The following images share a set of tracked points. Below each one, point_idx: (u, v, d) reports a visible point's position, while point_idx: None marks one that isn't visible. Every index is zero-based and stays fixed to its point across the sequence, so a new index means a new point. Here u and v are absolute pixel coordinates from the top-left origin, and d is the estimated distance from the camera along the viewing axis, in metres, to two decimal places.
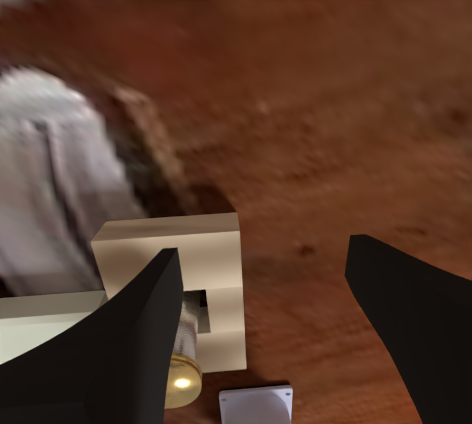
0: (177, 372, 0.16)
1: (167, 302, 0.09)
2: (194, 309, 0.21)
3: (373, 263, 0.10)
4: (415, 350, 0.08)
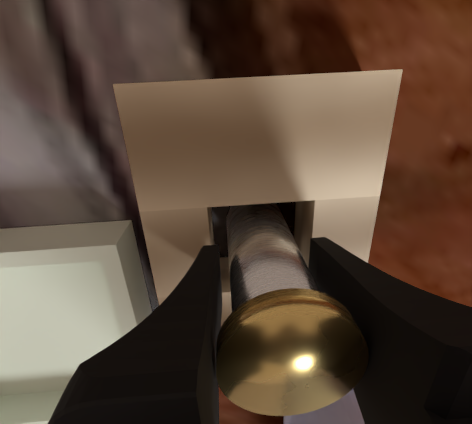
0: (325, 332, 0.07)
1: (216, 299, 0.10)
2: None
3: (327, 266, 0.10)
4: None
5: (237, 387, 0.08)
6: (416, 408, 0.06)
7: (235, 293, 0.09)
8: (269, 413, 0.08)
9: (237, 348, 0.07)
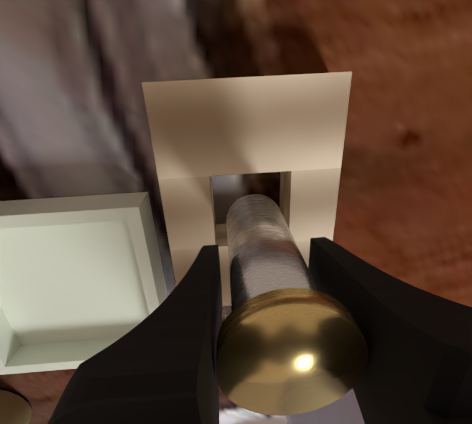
0: (325, 331, 0.07)
1: (216, 298, 0.10)
2: (292, 237, 0.12)
3: (327, 266, 0.10)
4: None
5: (237, 387, 0.08)
6: (416, 408, 0.06)
7: (235, 293, 0.09)
8: (269, 413, 0.08)
9: (237, 348, 0.07)
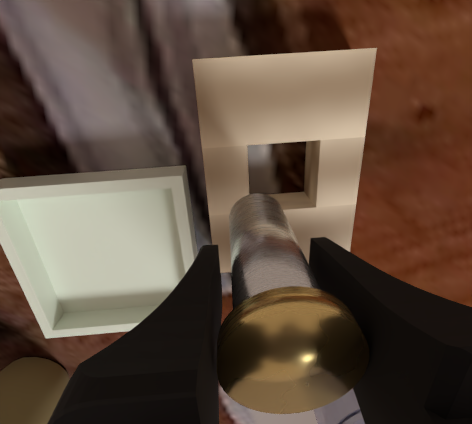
0: (326, 330, 0.07)
1: (216, 298, 0.10)
2: None
3: (327, 266, 0.10)
4: None
5: (237, 384, 0.08)
6: (416, 408, 0.06)
7: (236, 291, 0.09)
8: (269, 411, 0.08)
9: (237, 345, 0.07)
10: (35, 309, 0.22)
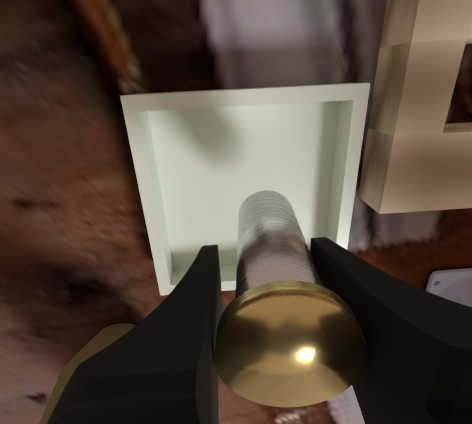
0: (324, 326, 0.07)
1: (216, 298, 0.10)
2: (302, 234, 0.12)
3: (328, 266, 0.10)
4: None
5: (234, 373, 0.08)
6: (417, 408, 0.06)
7: (239, 283, 0.09)
8: (264, 403, 0.08)
9: (236, 334, 0.07)
10: (156, 258, 0.19)
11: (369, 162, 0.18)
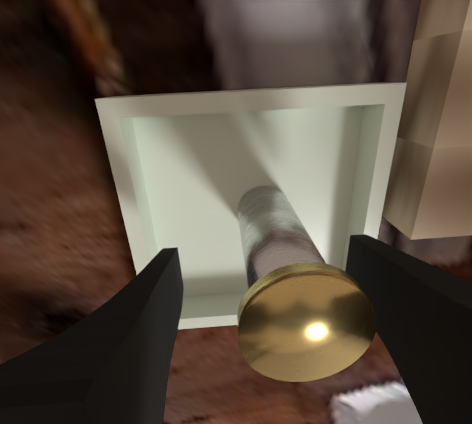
0: (339, 301, 0.08)
1: (167, 302, 0.09)
2: None
3: (373, 263, 0.10)
4: (415, 350, 0.08)
5: (256, 352, 0.08)
6: None
7: (252, 270, 0.10)
8: (283, 379, 0.09)
9: (260, 313, 0.08)
10: None
11: (397, 176, 0.15)
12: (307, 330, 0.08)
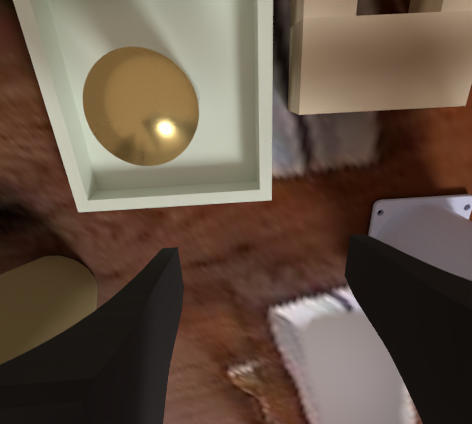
0: (158, 71, 0.10)
1: (168, 302, 0.09)
2: None
3: (373, 263, 0.10)
4: (415, 350, 0.08)
5: (102, 127, 0.10)
6: None
7: None
8: (133, 163, 0.11)
9: (94, 82, 0.10)
10: (68, 166, 0.18)
11: (292, 64, 0.17)
12: (139, 104, 0.10)
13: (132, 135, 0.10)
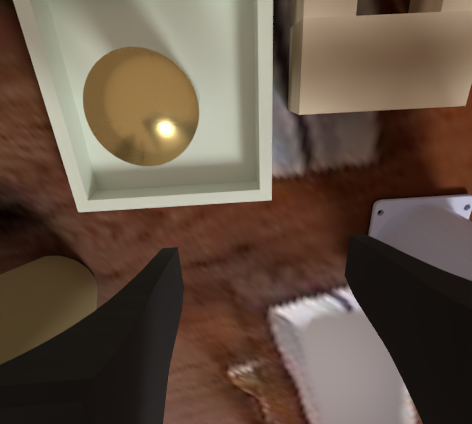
0: (158, 72, 0.10)
1: (168, 302, 0.09)
2: None
3: (373, 263, 0.10)
4: (415, 350, 0.08)
5: (102, 127, 0.10)
6: None
7: None
8: None
9: (95, 82, 0.10)
10: (68, 166, 0.18)
11: (292, 64, 0.17)
12: (139, 104, 0.10)
13: (132, 135, 0.10)
